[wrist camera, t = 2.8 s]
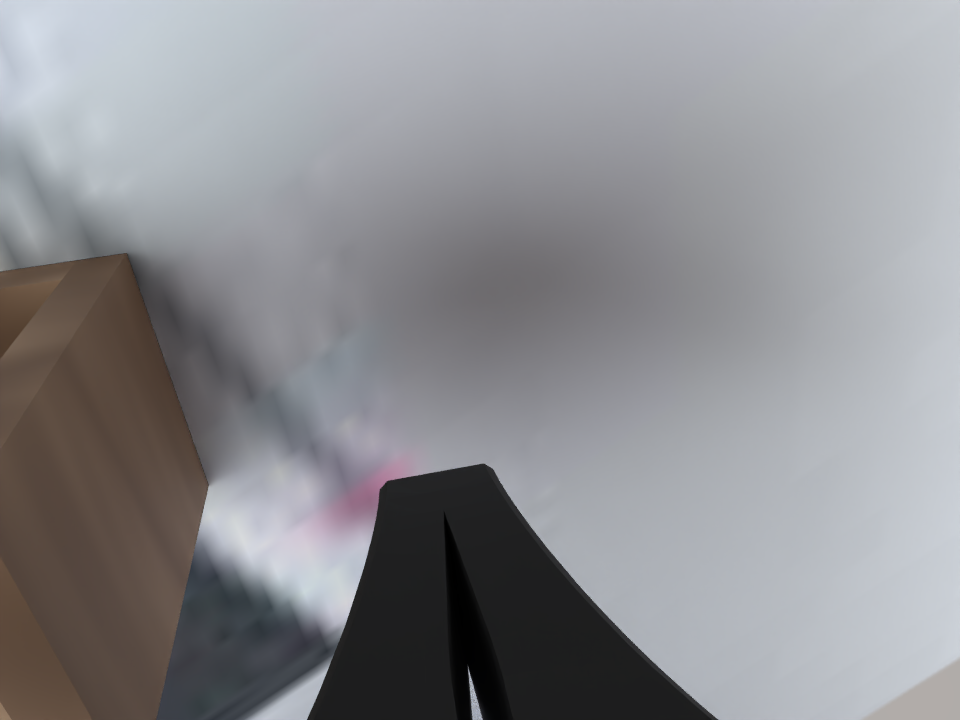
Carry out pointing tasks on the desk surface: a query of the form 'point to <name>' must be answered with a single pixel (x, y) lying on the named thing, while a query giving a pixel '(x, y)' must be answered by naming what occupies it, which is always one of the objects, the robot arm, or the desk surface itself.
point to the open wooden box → (89, 496)
